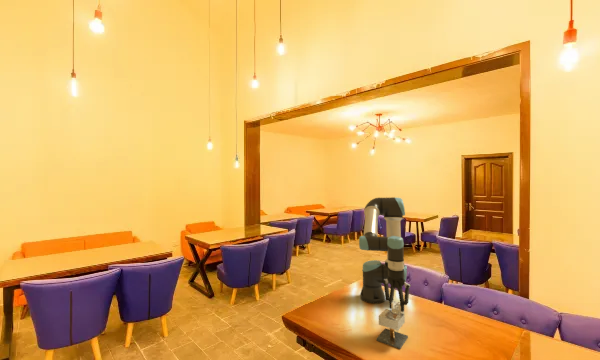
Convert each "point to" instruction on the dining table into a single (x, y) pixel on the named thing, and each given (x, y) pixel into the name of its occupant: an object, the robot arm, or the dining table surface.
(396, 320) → the square loop with stem
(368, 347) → the dining table surface
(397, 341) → the peg on square plate
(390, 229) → the robot arm
